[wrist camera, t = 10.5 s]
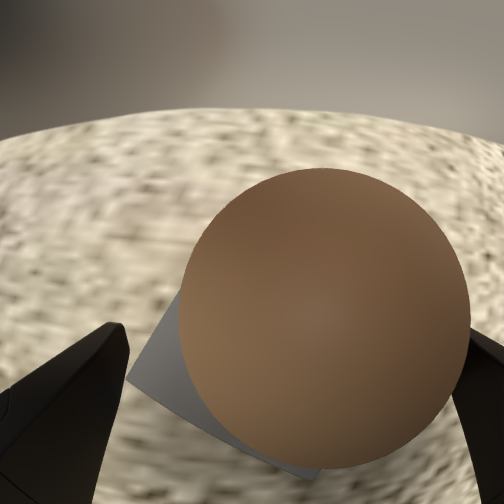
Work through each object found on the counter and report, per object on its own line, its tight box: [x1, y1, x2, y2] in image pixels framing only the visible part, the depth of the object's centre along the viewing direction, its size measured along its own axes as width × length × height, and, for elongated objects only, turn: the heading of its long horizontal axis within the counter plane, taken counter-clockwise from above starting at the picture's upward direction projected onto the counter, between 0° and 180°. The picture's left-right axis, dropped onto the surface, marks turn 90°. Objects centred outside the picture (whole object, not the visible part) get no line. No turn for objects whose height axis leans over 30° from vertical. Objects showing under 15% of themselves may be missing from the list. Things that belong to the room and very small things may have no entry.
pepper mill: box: [178, 168, 471, 469], centre depth 10 cm, size 5×5×12 cm
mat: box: [125, 289, 321, 482], centre depth 16 cm, size 12×12×1 cm
